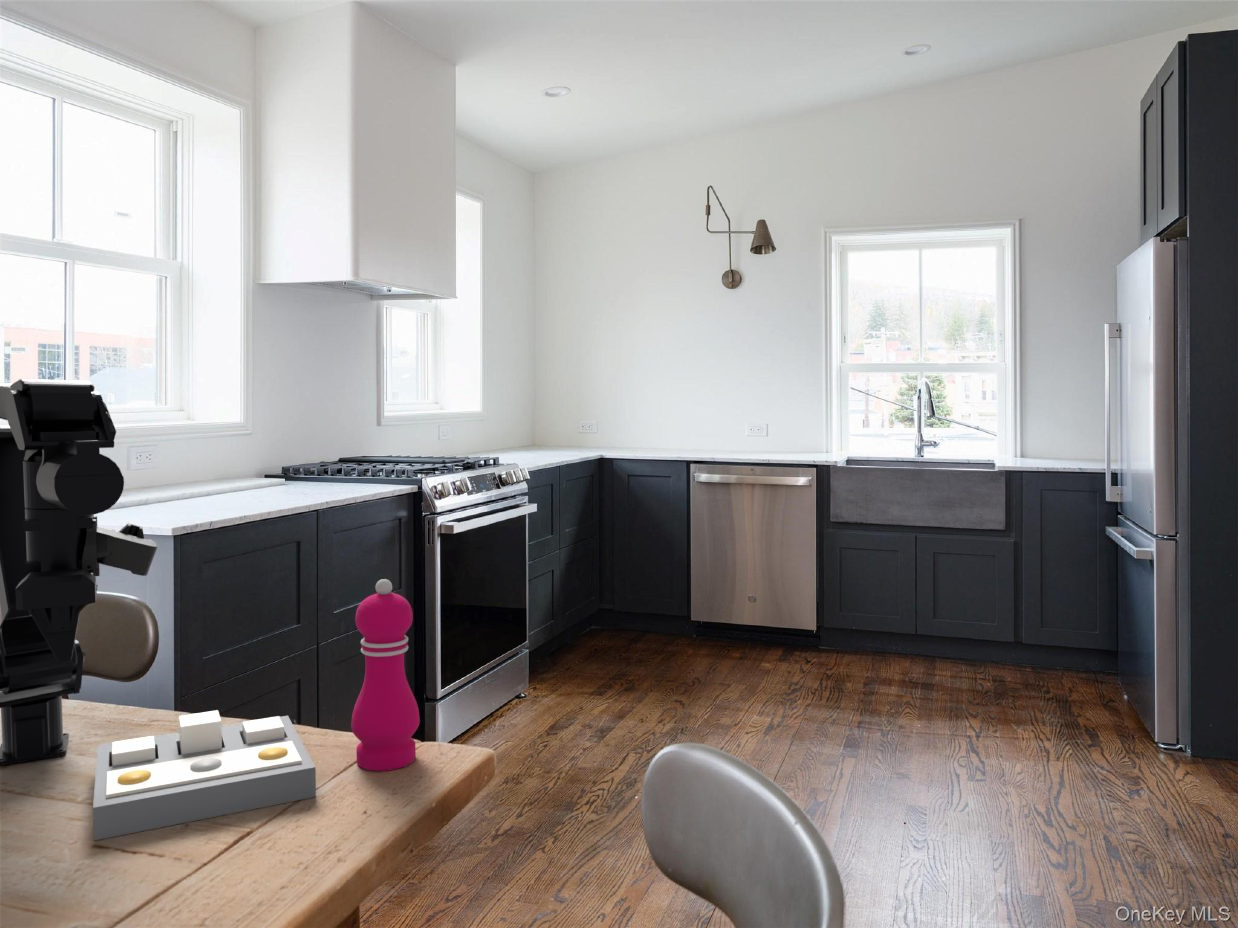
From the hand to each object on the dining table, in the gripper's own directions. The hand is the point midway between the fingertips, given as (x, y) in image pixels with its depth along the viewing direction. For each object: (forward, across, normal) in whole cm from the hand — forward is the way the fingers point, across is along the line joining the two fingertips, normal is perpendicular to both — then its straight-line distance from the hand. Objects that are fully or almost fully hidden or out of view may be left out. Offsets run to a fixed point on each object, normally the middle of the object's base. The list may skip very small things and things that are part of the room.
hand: (65, 661), depth 90 cm
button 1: (+12, -2, -6) cm, 14 cm away
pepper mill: (+13, -8, -30) cm, 34 cm away
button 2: (+12, -2, -18) cm, 22 cm away
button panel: (+13, -5, -12) cm, 19 cm away
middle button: (+10, -2, -12) cm, 16 cm away
